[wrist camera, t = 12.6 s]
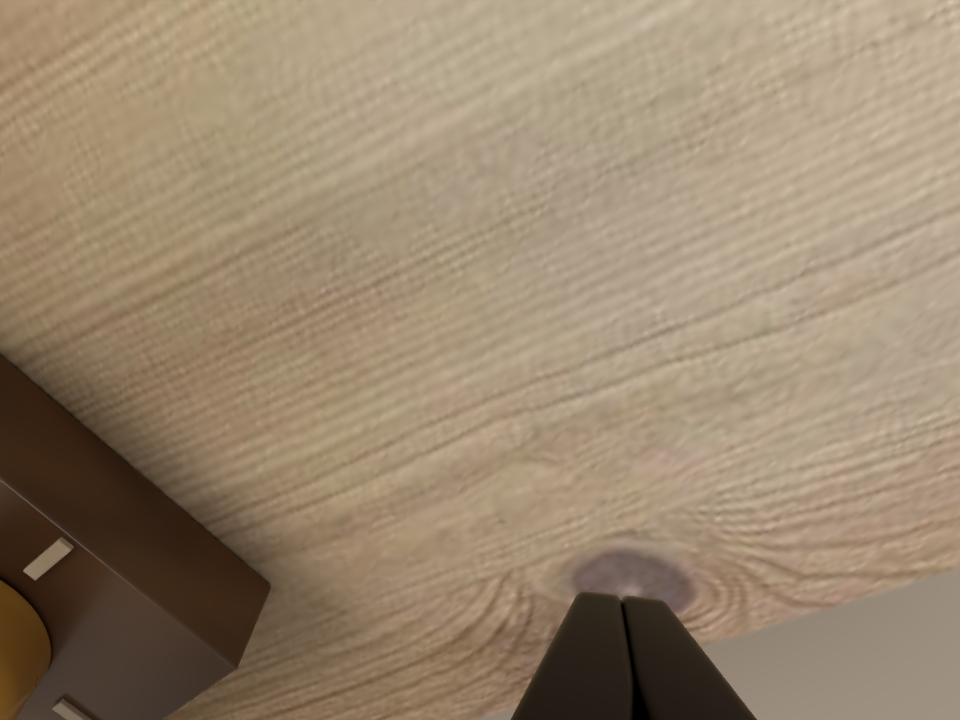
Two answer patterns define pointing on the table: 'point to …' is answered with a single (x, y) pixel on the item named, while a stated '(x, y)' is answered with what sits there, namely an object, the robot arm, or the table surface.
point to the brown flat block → (111, 572)
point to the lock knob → (20, 652)
